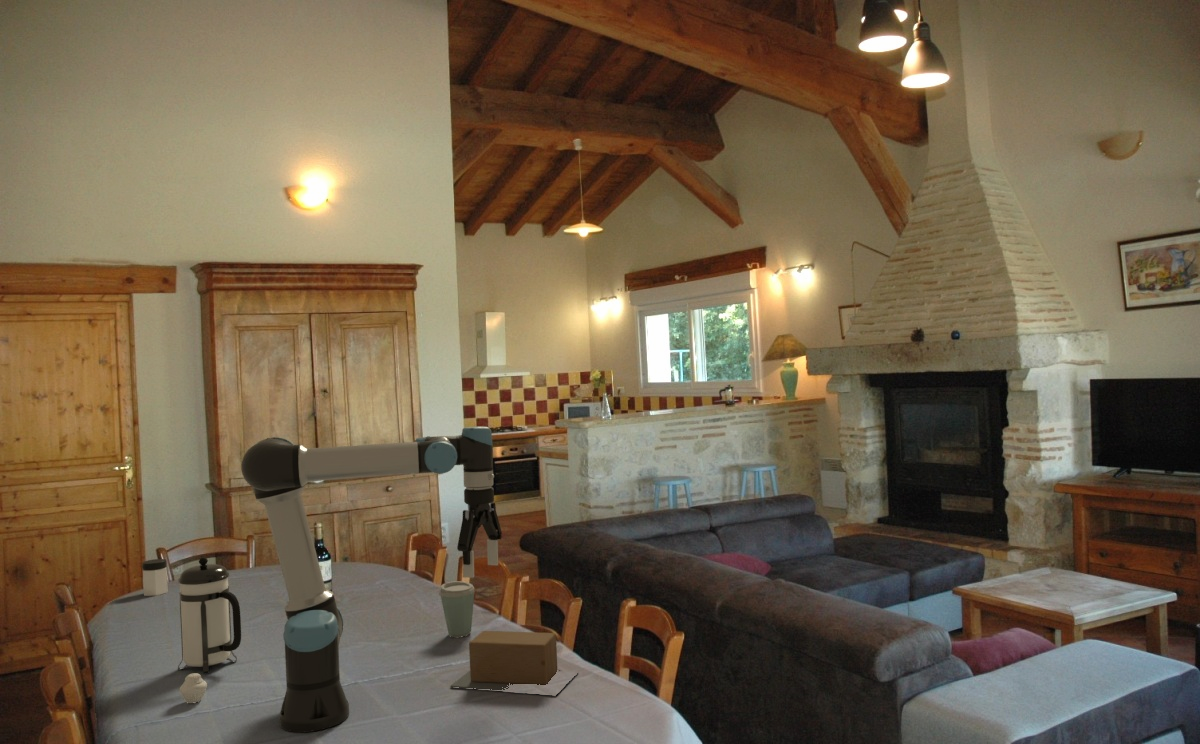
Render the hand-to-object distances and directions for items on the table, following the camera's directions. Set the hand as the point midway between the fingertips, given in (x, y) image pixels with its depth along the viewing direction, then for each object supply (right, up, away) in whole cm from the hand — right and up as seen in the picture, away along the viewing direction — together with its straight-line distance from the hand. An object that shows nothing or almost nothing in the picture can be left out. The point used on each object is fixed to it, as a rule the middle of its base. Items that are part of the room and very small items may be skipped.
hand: (481, 571), depth 223 cm
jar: (-136, -32, +105) cm, 175 cm away
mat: (+9, -27, -3) cm, 29 cm away
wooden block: (-1, -22, +1) cm, 22 cm away
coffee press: (-77, -31, +19) cm, 85 cm away
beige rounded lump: (-69, -30, -8) cm, 76 cm away
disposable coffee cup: (-12, -28, +38) cm, 48 cm away
